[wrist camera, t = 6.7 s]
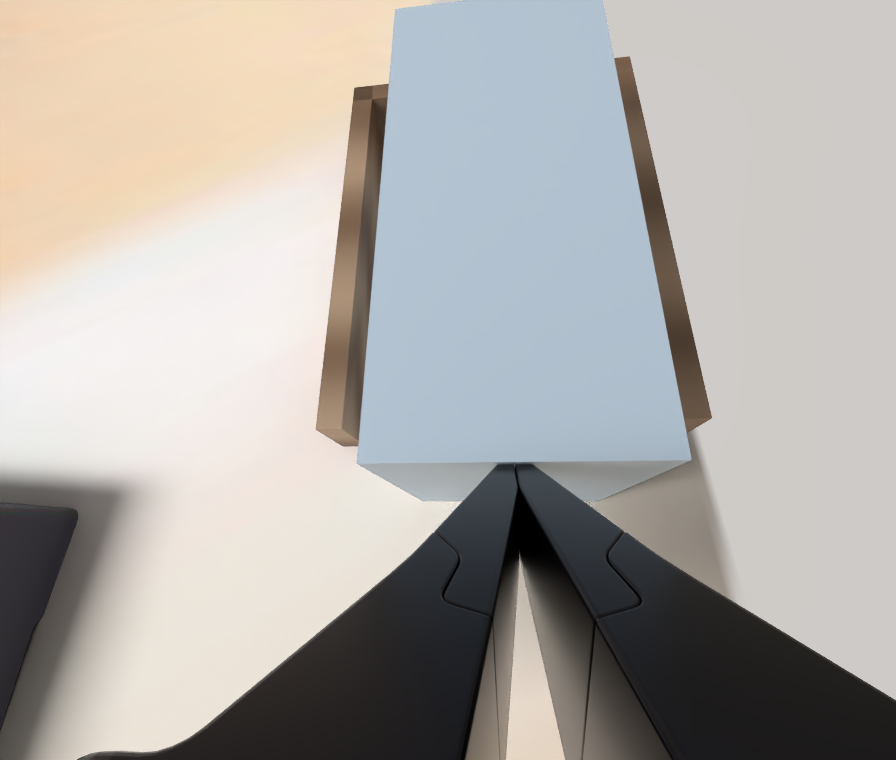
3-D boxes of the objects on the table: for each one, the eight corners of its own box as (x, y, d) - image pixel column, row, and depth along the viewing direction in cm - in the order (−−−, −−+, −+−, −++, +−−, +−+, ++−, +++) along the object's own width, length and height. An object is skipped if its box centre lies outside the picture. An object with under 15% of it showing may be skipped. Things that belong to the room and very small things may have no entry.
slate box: (597, 501, 17) (691, 459, 9) (423, 501, 18) (356, 464, 9) (562, 189, 23) (599, -17, 14) (432, 199, 24) (395, 9, 15)
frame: (677, 438, 17) (712, 417, 15) (342, 446, 19) (315, 429, 16) (614, 113, 24) (629, 56, 21) (370, 137, 25) (354, 87, 23)
